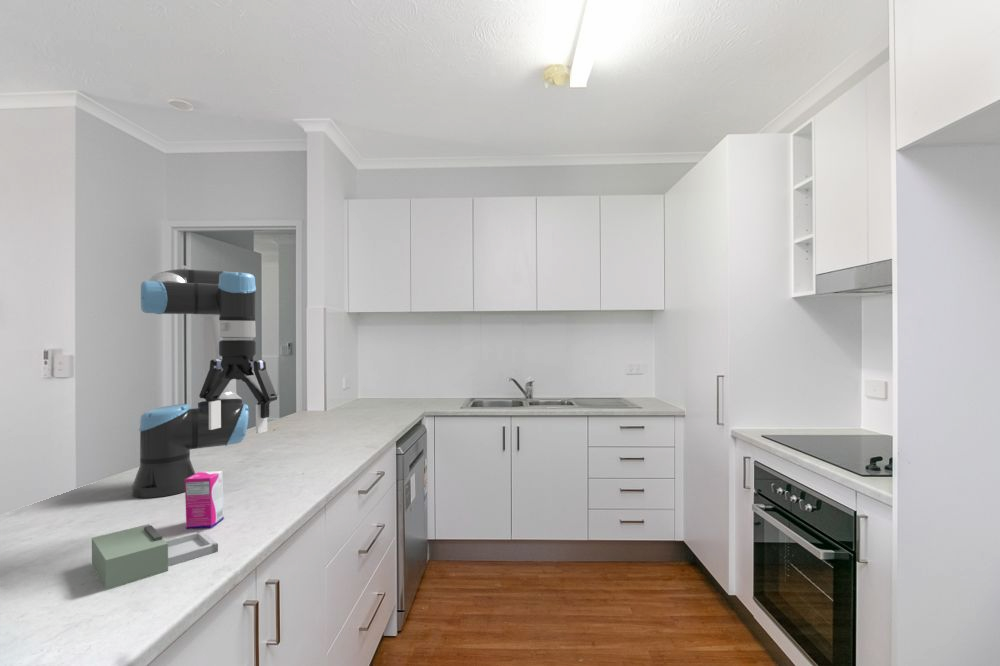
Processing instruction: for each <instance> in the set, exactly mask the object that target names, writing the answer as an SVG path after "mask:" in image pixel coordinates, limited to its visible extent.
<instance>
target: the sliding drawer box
mask: <svg viewBox="0 0 1000 666" xmlns="http://www.w3.org/2000/svg"><path fill="white" fill-rule="evenodd" d="M216 552H219V544H218V542H216V540H214V539H213V538H211V537H210V535H208V534H207V533H205V532H204V531H203V530H198V531H195V532H190V533H188V534H187V533H186V534H184V535H183V534H182V535H180V536H177V537H172V538H169V539H164V538H163V535H162V534H161V533H160V532H159V531H158V530H157V529H156V528H155V527H154V526H153V525H151V524H150V523H147V524H144V525H140V526H135V527H131V528H125V529H123V530H119V531H115V532H111V533H106V534H102V535H98V536H95V537H91V565H92V567H93V569H94V571H95V573H96V574H97V576H98V578H99V580H100V581H101V583H102V585H103V587H104V589H105V590H110V589H113V588H116V587H119V586H122V585H125V584H130V583H133V582H135V581H136V582H137V581H139V580H142V579H145V578H149V577H151V576H155V575H158V574H163V573H164V572H165V573H166V572H168V571H169V567H170V566H174V565H177V564H180V563H183V562H188V561H190V560H194V559H197V558H201V557H203V556H206V555H210V554H214V553H216Z"/></svg>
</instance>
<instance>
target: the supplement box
mask: <svg viewBox="0 0 1000 666" xmlns="http://www.w3.org/2000/svg"><path fill="white" fill-rule="evenodd" d="M195 473H196V474H194V475H192V476H190V477H188V478H187V479H185V492H184V493H185V494H184V495H185V497H184V498H185V499H184V500H185V523H186V524H185V526H186V530H196V529H197V530H199V529H213V528H214V527H216V526H217V525H218V524H219V523H220V522H222V521H223V520H224V519H225V516H224V514H225V513H224V487H223V485H224V483H223V471H222V470H215V471H212V470H211V471H198V472H195Z"/></svg>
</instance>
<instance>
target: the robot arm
mask: <svg viewBox="0 0 1000 666" xmlns="http://www.w3.org/2000/svg"><path fill="white" fill-rule="evenodd" d="M256 291H257V286H256V278H255V275H254V274H252V273H247V272H237V271H235V272H234V271H225V270H221V271H220V270H219V271H218V270H203V269H188V268H179V269H171V270H166V271H161V272H158V273H156V274H154V275H153V276H151V278H150V279H149V280H147V281H146V280H144V281H141V284H140V309H141V311H142V312H143V313H145V314H156V315H163V314H164V315H165V314H166V315H197V316H198V317H200V318H201V320H202V321H201V322H202V323H201V324H202V325H201V327H202V328H201V329H202V363H203V364H202V367H203V368H202V369H203V385H202V388H201V390H200V393H199V398H200V400H198V402H197V408H196V407H195V408H191V406H190V404H189V403H188V404H187V403H182V404H181V403H180V404H172V405H165V406H162V407H157V408H153V409H149V410H147V411H145V412H144V413H142V414H141V415H140V420H139V429H138V432H140V435H139V437H140V438H139V449H140V450H139V466H138V470H137V474H136V475H135V479H134V481H133V484H132V487H131V494H132V496H133V497H135V498H145V499H147V498H149V499H150V498H151V499H152V498H160V497H161V498H162V497H167V496H173V495H177V494H180V493H181V494H182V493H185V479H187V478H188V477H190V476H192V475H194V474H196V473H197V472H196V471H195V469H194V467H193V464H192V461H191V453H190V452H191V451H190V450H196V449H197V450H198V449H205V448H214V447H221V446H224V447H225V446H226V447H227V446H229V445H235V444H239V443H241V442H243V441H244V440H245V437H246V434H247V430H248V423H249V406H248V404H247V403H246V404H245V403H243V398H242V397H241V396H240V395H238V394H237V381H238V380H240V381H242V382H244V383H245V384H246V386H247V387H248V388H249V390H250V392H251V393H252V395H253V397H254V398H255V399H256V401H257V403H256V404H255V434H261V433H264V432H265V433H266V432H268V418H269V417H270V404H271V403H272V402H274V401H277V400H278V396H277V393H276V390H275V389H274V386H273V382H272V381H271V378H270V376H269V374H268V370H267V364H266V360H264V359H261V360H254V356H256V354H257V349H256V348H257V347H256V344H257V343H256V341H255V340H254V339H255V338H256V337H257V336H256V333H257V332H256V329H257V328H256Z"/></svg>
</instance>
